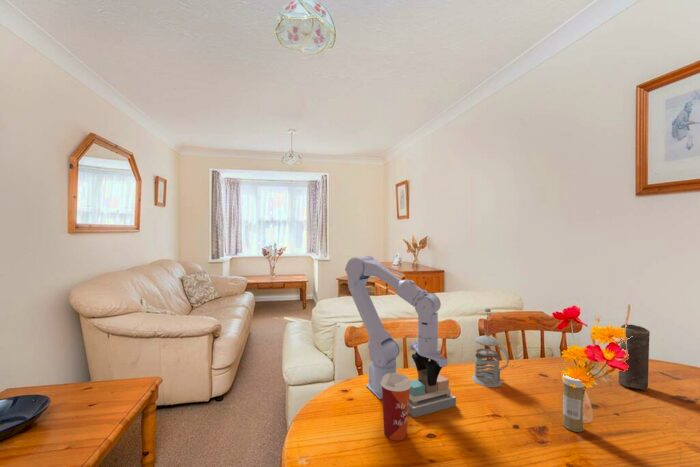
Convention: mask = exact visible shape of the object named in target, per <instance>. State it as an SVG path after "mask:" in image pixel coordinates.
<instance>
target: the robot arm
mask: <svg viewBox="0 0 700 467" xmlns="http://www.w3.org/2000/svg"><path fill="white" fill-rule="evenodd" d="M344 271H345V272H346V275H347V286H348V290H349V292H350V295H351V297H352V299H353V302H354V305H355V306H356V308H357V311H358V313H359V316H360V318H361V320H362V323H363V325H364V328H365V330H366V333H367V334H368V337H369V338H368V342H367V347H368V352H369V360H370V363H369V365H368V383H367V384H365V386H366V387H367V388H368V389H369V391H371V392H372V393H373V394H374V395H375V396H376V397H377V398H378V400H383V398H382V386H381V380H382V378H383V376H384V375H386V374H389V373H397V358H398V356H399V355H400V351H401V350H400V346H399V344H398V342H397V341H396V340H395V339H394V338H393V335H392V334H391V333H390V332H388V331H387V330H386V329H385V327H384V325H383V323H382V320H381V319H380V316H379V314H378V312H377V310H376V307H375V305H374V303H373V300H372V298H371V296H370V294H369V291H368V289H367V287H366V285H367V283H368V281H369V279H370V278H371V277H376V278H378V279H380V280H382V281H383V282H385V284H388V286H390V287H392V288H393V289H395V291H396V292H395V293H396V295H397V296H398V297H399V298H401V299H403V300H404V301H405V302H406V303H408V304H409V305H411V306H413V307H414V310H415V312H416V313H417V315H418V316H417V317H418V318H417V342H411V343H410V351H415V352H414V353H413V354H411V358H412V359H413V362H414V363H415V367H416V370H417V373H418V371H419V370H424V369H427V375H428V384H429V386H434V385H436V382H437V378H438V375H439V374H440V372H441V371H442V369H443V368H444V367H447V366H448V364H447V363H448V360H447V358H446V357H444V356H443V355H442V354H441V349H439V348H438V347H439V346H438V345H439V344H438V342H439V340H438V339H439V318H438V317H439V313H438V311H439V310H440V309H441V305H442V304H441V300H440V298H439V297H438V296H437V295H436V294H435V293H434V292H433V293H431V292H430V293H428V290H426V289H422V288H421V287H419V286H418V285H417V284H416V283H415V281H414V280H413V279H410V280H409V279H402V278H400V277H398V275H396V274H395V273H394V272H391V270H389V269H388V268H387V267H386V266H384V264H382V263H381V262H380V261H379V260H378V259H376V258H374V257H372V256H370V255H365V256H358V257H351V258H350V259H349V260H347V263H346V266H345V269H344Z"/></svg>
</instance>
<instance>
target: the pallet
mask: <svg viewBox="0 0 700 467" xmlns="http://www.w3.org/2000/svg"><path fill="white" fill-rule="evenodd" d="M417 380H418V381H420V382H421V383H423V384H424V385H425V394H423V395H419V396H415V397H413V396H412V395H410V394H409V401H410V402H411V403H413V404H414V405H416V404H418V401H420V400H424V399H428V398H432V397H436V396H440V395H446V396H450V394H452V392H451V390H452V389H451V387H449V388H447V389H443V390H439V391H438V390H437V382H436V385H434V386H429V384H428V375H427V369H424V370H419V371H418V372H417Z"/></svg>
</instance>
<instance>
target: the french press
mask: <svg viewBox="0 0 700 467" xmlns="http://www.w3.org/2000/svg"><path fill="white" fill-rule="evenodd" d="M484 312H486V315H487V317H486V318H487V320H486V326H487V327H486V335H480V336H477V337H475V338H474V341H475V343H477V344H478V345H482V346H486V348H478V349H476V351H475V352H476V353H475V355H474V356H475V357H474V359H475V360H474V374H473V375H472V376H471V380H472V381H473V382H474V383H476V384H478V385H480V386H483V387H488V388H498V387H499V388H500V387H501V386H503V381H502V379H501V371H502V370H505V369H506V368H507V366H508V364H509V362H510V355H509V353H508V351H507V349H505V348H504V347H502V346H499V345H500V344H501V341H500V340H498V339H497V338H495V337H494V336H491V335H489V334H488V333H489V313H491V309H490V308H487V307H486V308H485V309H484ZM497 346H499V347H498V351H496V350H494V349H489V347H497ZM501 351H503V353H504V355H505V356H506V359H507V360H506V365H504V366H502V367H500V357H499V353H498V352H501ZM486 358H487V359H486ZM495 359H496V360H495Z"/></svg>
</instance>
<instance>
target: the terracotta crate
mask: <svg viewBox="0 0 700 467" xmlns="http://www.w3.org/2000/svg"><path fill="white" fill-rule="evenodd" d="M449 382H450V379H449V378H447V377H445V376H443V375H442V374H440V373H439V375H438V378H437V390H438V391H439V390H443V389H447V388H450V385H449Z"/></svg>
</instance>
